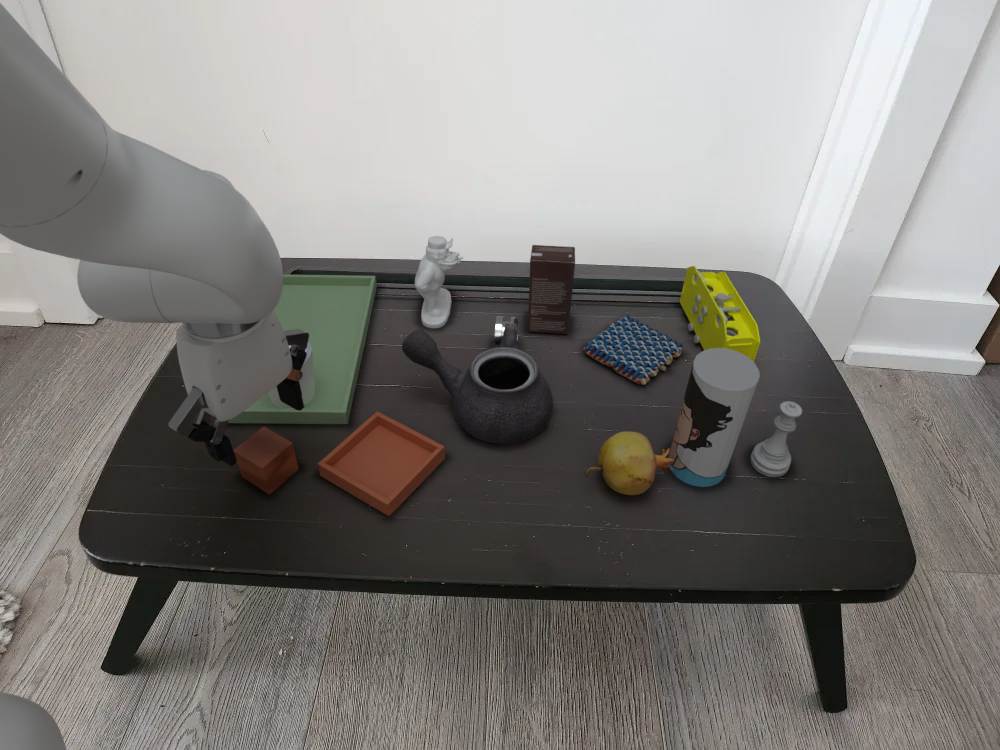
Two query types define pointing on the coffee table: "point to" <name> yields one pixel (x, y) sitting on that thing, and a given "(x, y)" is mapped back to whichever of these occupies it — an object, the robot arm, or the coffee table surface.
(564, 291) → the box
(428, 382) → the coffee table surface
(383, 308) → the coffee table surface
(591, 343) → the woven mat
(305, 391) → the grey tapered cup
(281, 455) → the block
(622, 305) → the coffee table surface
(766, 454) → the chess piece
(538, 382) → the teapot
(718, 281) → the yellow toy chassis
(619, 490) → the fruit
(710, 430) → the grey printed cylindrical canister
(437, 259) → the figurine
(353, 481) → the terracotta tray
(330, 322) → the sage tray
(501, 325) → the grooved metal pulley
